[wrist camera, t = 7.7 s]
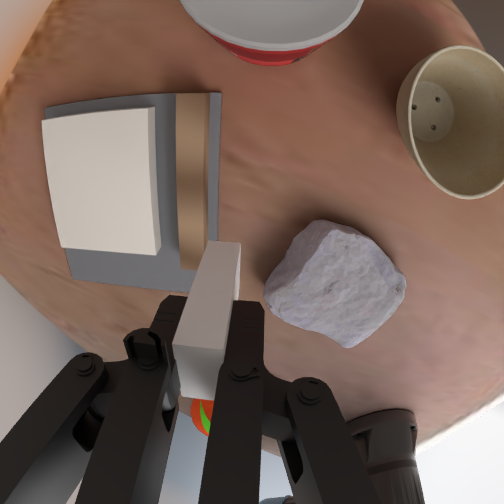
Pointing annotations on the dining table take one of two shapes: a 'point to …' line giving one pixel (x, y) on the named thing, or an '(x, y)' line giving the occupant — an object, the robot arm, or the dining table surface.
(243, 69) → the dining table surface
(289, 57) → the canned food
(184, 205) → the strip
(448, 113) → the flower pot
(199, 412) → the clementine
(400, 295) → the stone block
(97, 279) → the mat
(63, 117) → the tile
